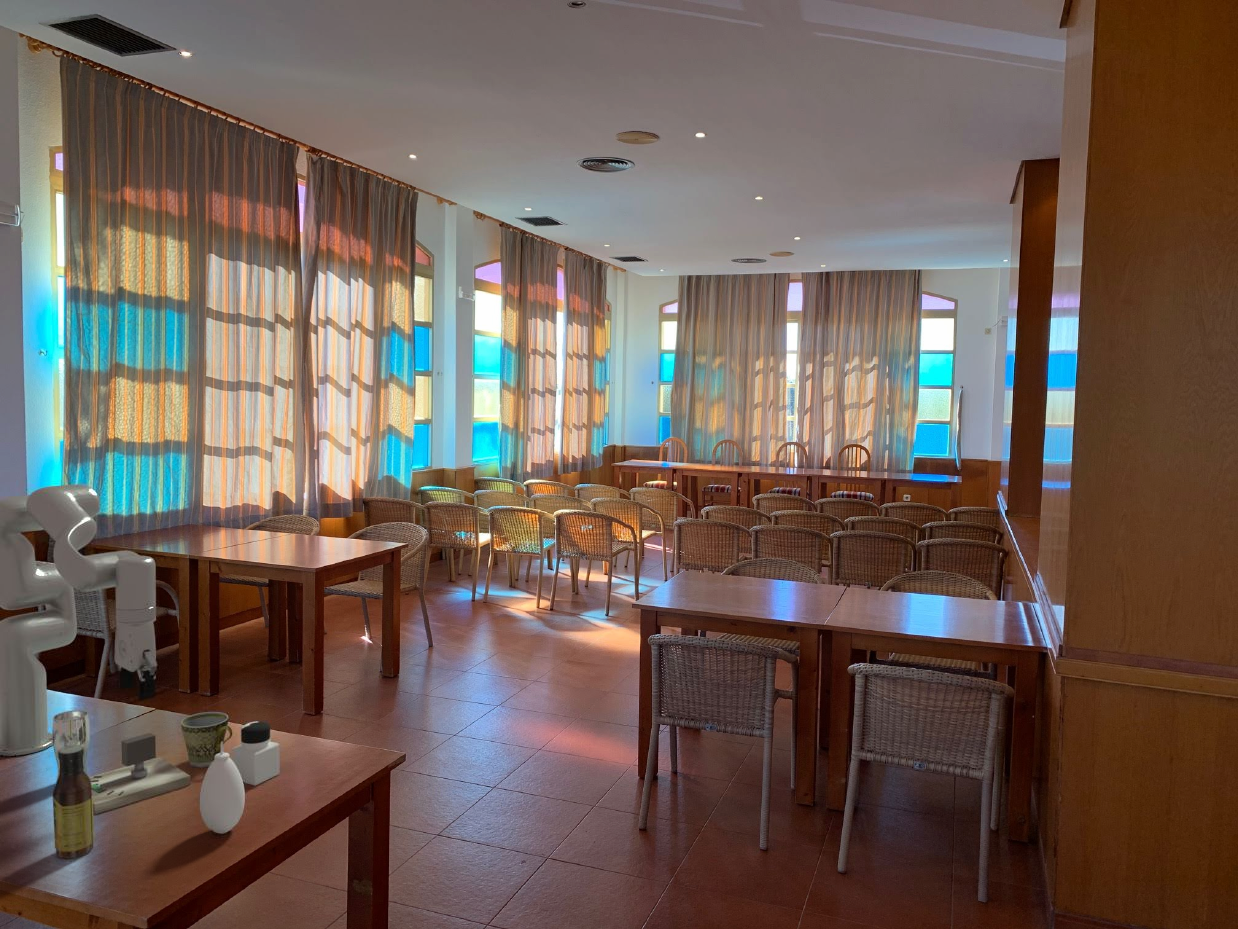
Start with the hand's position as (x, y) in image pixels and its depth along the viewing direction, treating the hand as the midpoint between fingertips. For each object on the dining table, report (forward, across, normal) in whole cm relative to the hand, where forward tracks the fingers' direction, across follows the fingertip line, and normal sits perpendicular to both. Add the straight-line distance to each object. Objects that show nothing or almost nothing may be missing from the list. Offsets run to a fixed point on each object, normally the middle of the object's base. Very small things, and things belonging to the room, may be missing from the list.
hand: (136, 693), depth 195 cm
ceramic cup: (+21, 0, +16) cm, 26 cm away
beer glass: (+21, -11, -9) cm, 25 cm away
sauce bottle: (+20, +22, -20) cm, 36 cm away
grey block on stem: (+18, +1, -2) cm, 18 cm away
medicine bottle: (+20, +15, +19) cm, 31 cm away
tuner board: (+20, +1, -2) cm, 20 cm away
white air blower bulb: (+20, +34, +2) cm, 39 cm away
